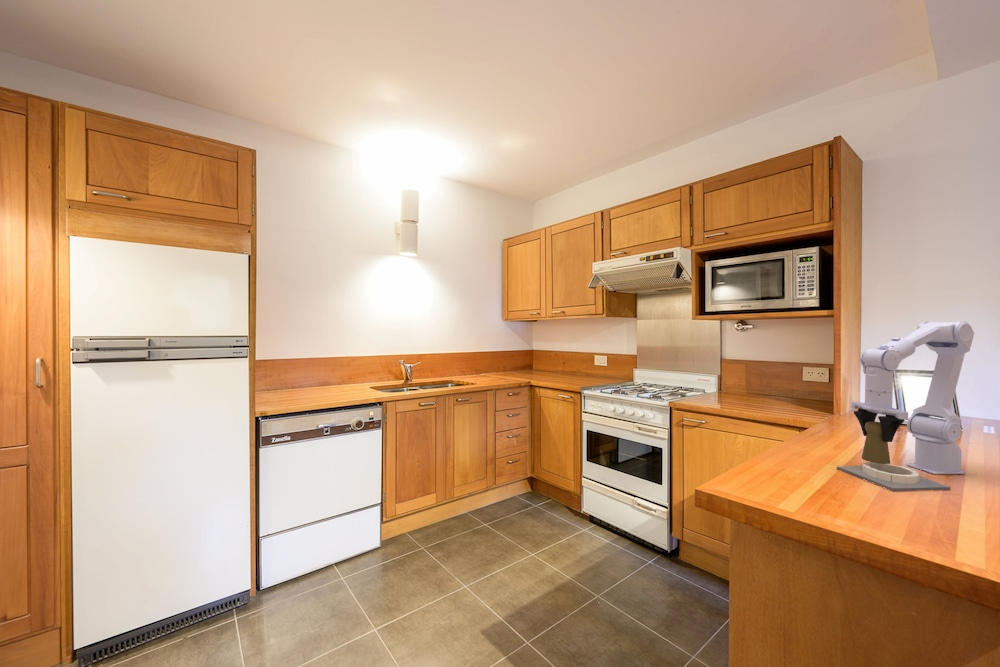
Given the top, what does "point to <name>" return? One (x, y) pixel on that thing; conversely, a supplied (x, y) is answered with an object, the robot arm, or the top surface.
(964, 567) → the top surface
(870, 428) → the cork
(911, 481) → the ring stand
